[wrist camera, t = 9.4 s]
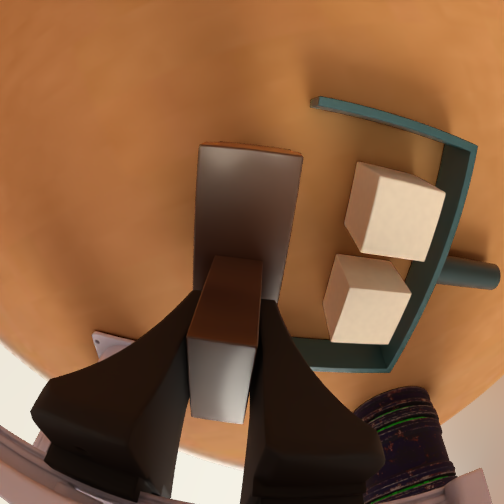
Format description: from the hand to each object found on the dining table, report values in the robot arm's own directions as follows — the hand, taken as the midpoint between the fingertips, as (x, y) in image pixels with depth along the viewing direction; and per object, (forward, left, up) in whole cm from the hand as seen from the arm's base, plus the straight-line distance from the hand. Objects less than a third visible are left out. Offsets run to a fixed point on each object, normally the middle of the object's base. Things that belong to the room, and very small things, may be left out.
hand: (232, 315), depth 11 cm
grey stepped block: (0, 0, -4) cm, 4 cm away
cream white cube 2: (+4, -8, -8) cm, 12 cm away
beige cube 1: (-2, -8, -8) cm, 11 cm away
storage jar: (-19, -18, -8) cm, 27 cm away
